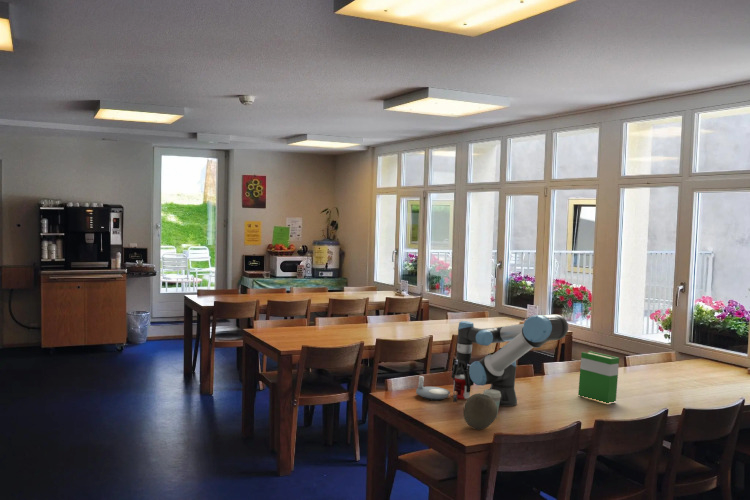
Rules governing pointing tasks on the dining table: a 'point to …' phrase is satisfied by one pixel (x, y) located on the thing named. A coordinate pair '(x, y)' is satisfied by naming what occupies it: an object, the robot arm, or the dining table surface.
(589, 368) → the hardback book
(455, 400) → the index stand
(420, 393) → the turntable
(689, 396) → the dining table surface
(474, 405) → the cantaloupe
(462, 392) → the canned food
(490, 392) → the coffee cup
